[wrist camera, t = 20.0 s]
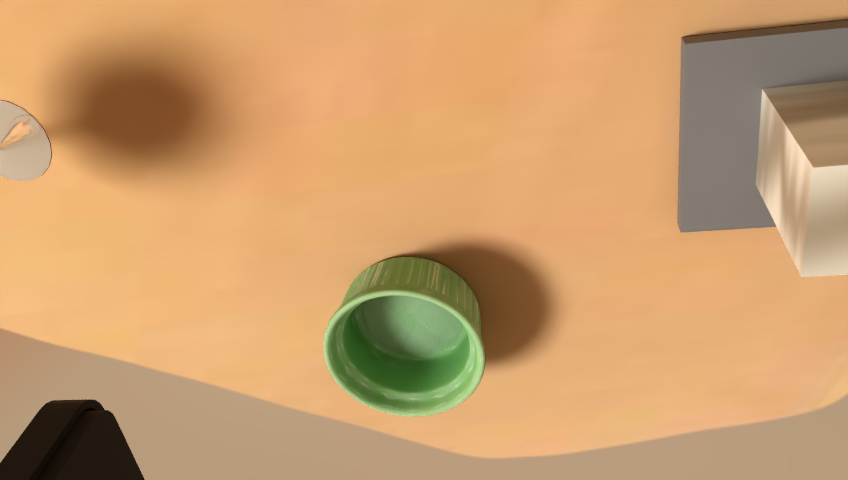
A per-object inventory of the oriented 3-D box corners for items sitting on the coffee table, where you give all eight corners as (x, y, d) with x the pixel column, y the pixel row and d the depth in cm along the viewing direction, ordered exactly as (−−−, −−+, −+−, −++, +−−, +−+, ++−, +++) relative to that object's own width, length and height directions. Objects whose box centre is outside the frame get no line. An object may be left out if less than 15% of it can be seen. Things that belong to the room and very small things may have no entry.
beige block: (762, 88, 36) (813, 167, 30) (880, 77, 35) (960, 155, 29) (755, 184, 39) (801, 277, 32) (865, 175, 38) (936, 269, 31)
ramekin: (518, 331, 47) (516, 381, 43) (397, 386, 51) (387, 437, 47) (431, 220, 44) (422, 264, 40) (309, 288, 47) (289, 334, 43)
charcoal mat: (681, 36, 37) (684, 43, 36) (968, 7, 34) (979, 14, 34) (677, 222, 42) (680, 232, 41) (927, 206, 40) (935, 217, 39)
